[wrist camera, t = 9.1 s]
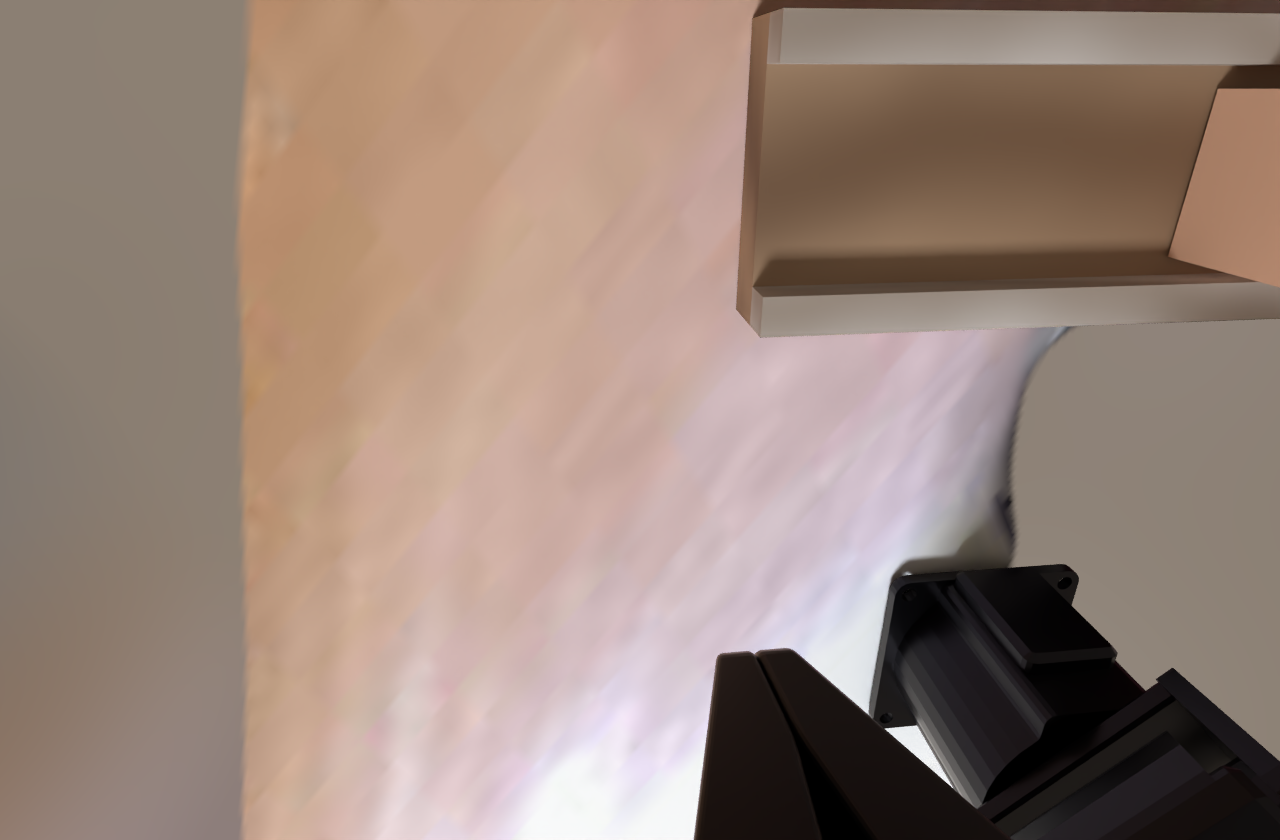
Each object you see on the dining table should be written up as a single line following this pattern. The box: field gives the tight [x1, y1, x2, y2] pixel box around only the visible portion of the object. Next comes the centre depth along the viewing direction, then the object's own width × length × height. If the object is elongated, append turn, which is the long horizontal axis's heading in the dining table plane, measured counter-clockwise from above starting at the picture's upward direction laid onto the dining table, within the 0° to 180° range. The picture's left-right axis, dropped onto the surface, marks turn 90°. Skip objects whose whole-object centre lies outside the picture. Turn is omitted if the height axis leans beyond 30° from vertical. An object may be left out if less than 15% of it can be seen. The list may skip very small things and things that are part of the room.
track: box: [736, 8, 1280, 338], centre depth 18 cm, size 7×17×4 cm, turn 90°
